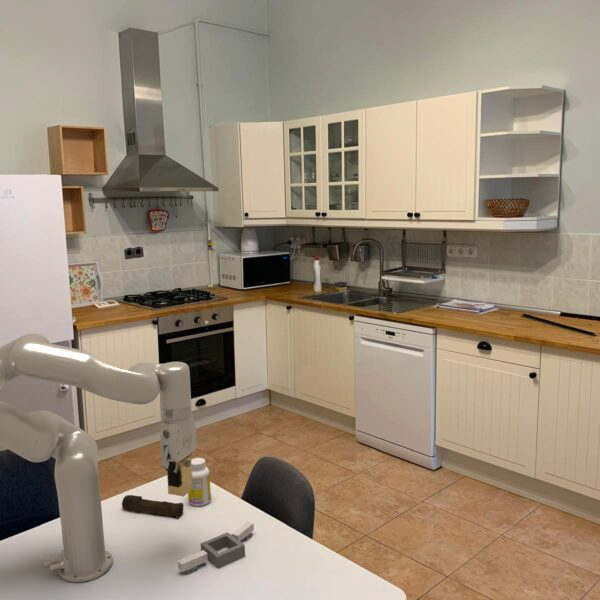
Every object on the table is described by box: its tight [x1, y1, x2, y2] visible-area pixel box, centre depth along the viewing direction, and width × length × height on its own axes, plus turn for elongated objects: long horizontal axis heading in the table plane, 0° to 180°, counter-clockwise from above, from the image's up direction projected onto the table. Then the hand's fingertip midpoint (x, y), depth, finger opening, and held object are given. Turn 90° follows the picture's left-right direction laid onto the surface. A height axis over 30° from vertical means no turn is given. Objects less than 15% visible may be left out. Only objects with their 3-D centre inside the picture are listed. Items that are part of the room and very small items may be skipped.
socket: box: [177, 521, 255, 575], centre depth 159 cm, size 9×24×3 cm, turn 129°
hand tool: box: [121, 494, 184, 520], centre depth 181 cm, size 19×4×5 cm, turn 72°
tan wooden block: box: [166, 455, 193, 497], centre depth 159 cm, size 4×6×9 cm
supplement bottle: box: [187, 457, 212, 507], centre depth 186 cm, size 7×7×13 cm
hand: (179, 480), depth 159 cm, fingers closed on tan wooden block, 4 cm apart
